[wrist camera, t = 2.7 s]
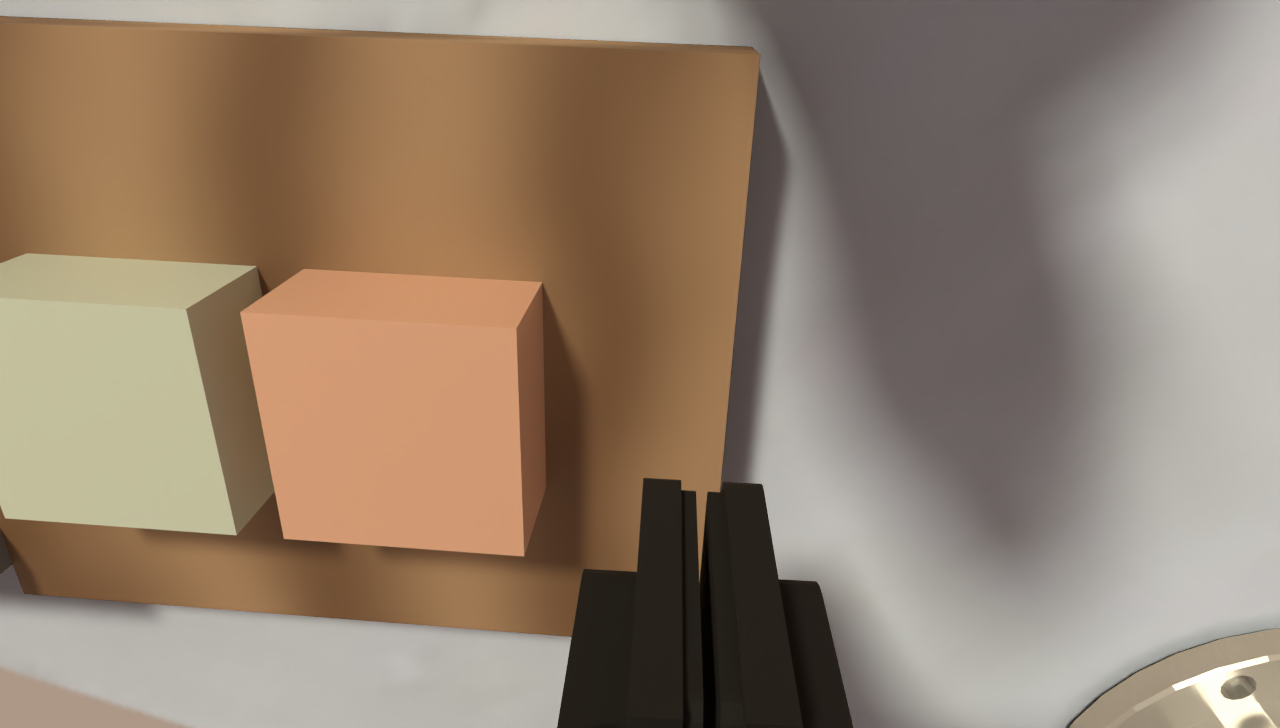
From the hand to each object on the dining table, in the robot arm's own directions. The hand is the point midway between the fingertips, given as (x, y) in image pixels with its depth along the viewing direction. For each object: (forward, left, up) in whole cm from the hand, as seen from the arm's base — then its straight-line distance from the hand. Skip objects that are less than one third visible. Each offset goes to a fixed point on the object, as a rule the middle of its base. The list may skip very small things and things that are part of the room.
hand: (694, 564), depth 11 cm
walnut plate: (+8, +1, -9) cm, 12 cm away
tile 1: (+12, +1, -6) cm, 13 cm away
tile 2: (+6, +1, -6) cm, 8 cm away
